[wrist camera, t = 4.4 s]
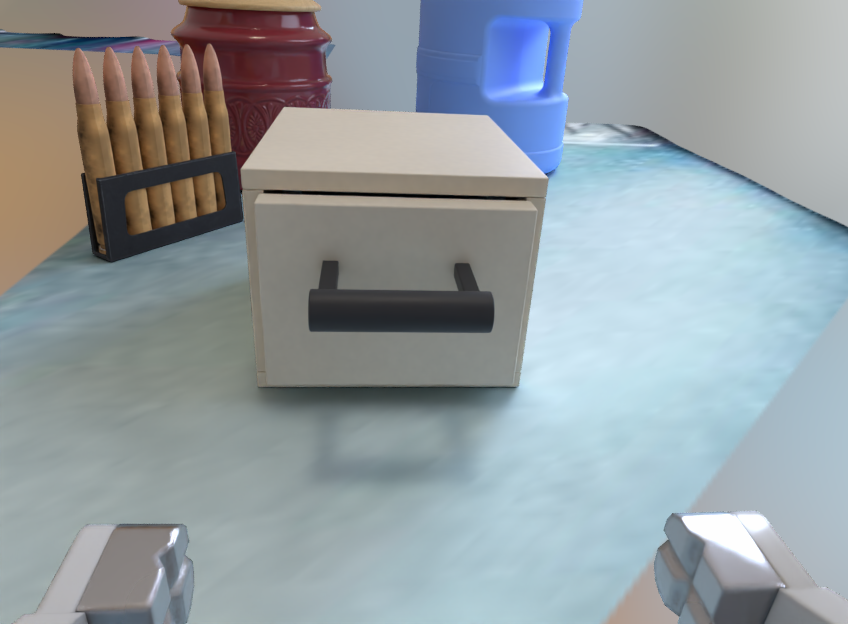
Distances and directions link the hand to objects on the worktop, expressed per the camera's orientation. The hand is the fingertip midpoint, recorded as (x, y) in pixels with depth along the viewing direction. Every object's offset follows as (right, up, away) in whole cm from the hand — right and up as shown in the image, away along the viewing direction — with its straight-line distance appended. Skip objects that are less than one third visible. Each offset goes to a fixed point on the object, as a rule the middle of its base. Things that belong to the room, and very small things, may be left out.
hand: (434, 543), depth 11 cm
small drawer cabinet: (-2, +4, +23) cm, 24 cm away
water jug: (+6, +20, +56) cm, 60 cm away
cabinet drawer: (-2, +3, +19) cm, 20 cm away
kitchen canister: (-15, +16, +48) cm, 52 cm away
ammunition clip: (-17, +9, +32) cm, 38 cm away
